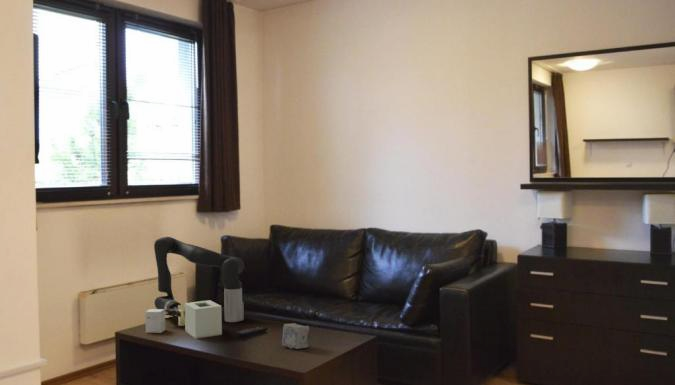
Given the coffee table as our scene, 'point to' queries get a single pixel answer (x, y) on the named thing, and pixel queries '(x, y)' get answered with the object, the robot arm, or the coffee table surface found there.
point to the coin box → (203, 319)
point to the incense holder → (295, 336)
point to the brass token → (181, 319)
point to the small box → (155, 320)
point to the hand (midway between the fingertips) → (183, 314)
